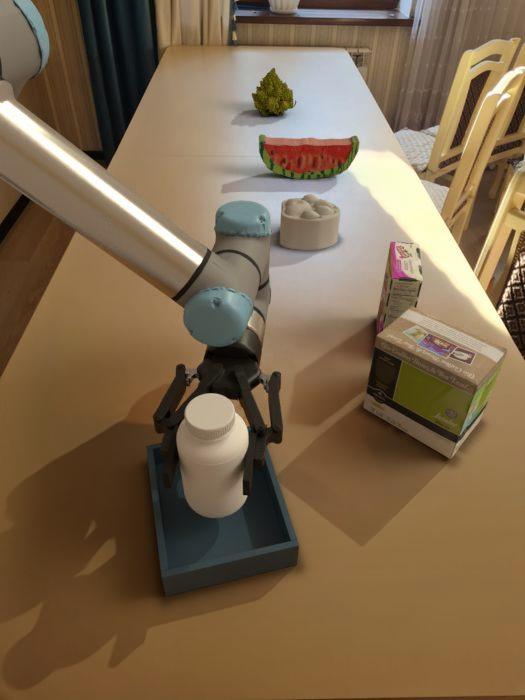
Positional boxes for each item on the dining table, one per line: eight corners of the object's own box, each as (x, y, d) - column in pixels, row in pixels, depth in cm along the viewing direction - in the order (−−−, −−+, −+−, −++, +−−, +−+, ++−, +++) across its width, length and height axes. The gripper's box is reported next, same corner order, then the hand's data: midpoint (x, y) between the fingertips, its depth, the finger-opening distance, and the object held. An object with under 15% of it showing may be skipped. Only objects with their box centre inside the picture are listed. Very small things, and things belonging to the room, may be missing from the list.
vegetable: (272, 89, 194) (281, 56, 180) (296, 122, 192) (306, 92, 178) (237, 103, 190) (244, 71, 176) (261, 138, 188) (270, 108, 173)
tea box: (480, 421, 82) (511, 348, 72) (449, 462, 76) (478, 387, 66) (394, 375, 89) (412, 302, 79) (360, 408, 83) (374, 334, 74)
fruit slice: (258, 179, 146) (259, 142, 139) (258, 169, 150) (258, 133, 144) (355, 180, 146) (360, 142, 140) (352, 170, 151) (356, 134, 144)
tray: (150, 465, 75) (145, 445, 72) (259, 444, 78) (259, 424, 75) (165, 596, 61) (161, 577, 58) (297, 564, 64) (299, 545, 61)
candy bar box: (374, 317, 101) (389, 239, 90) (402, 320, 100) (420, 242, 89) (374, 357, 92) (391, 276, 81) (404, 361, 92) (425, 280, 81)
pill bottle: (175, 512, 64) (160, 431, 54) (196, 459, 70) (187, 377, 60) (239, 527, 63) (236, 446, 53) (256, 472, 69) (256, 389, 59)
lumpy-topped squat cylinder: (280, 225, 126) (282, 190, 121) (336, 228, 126) (340, 193, 120) (279, 248, 119) (280, 212, 113) (338, 251, 118) (342, 215, 112)
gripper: (308, 370, 76) (301, 513, 59) (164, 360, 78) (116, 495, 61) (312, 329, 71) (305, 471, 54) (158, 318, 73) (104, 454, 56)
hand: (206, 484), depth 57 cm, fingers closed on pill bottle, 8 cm apart
